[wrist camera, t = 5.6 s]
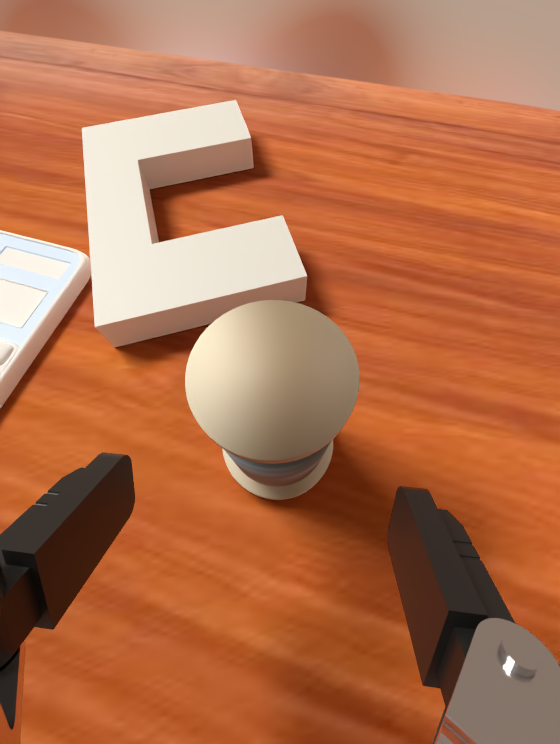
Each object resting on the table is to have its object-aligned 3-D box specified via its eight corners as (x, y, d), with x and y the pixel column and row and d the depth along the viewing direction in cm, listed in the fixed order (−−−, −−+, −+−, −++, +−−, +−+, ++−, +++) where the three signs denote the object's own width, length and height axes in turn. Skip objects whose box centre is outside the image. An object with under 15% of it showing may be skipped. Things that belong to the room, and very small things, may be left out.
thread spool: (239, 515, 18) (191, 505, 9) (215, 409, 20) (158, 315, 11) (346, 480, 18) (407, 438, 9) (311, 382, 21) (332, 272, 12)
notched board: (114, 347, 22) (94, 326, 20) (97, 158, 30) (81, 128, 28) (305, 300, 23) (307, 275, 21) (239, 130, 32) (235, 100, 29)
